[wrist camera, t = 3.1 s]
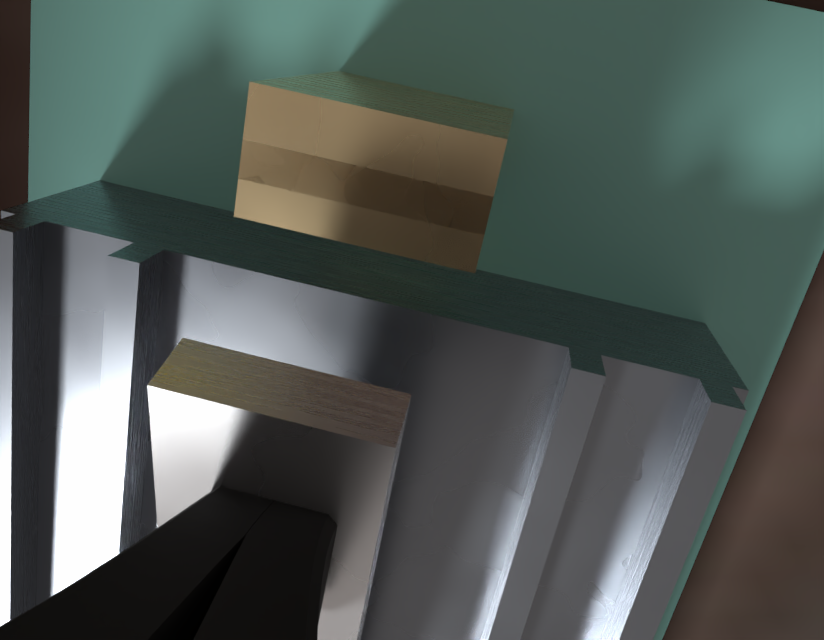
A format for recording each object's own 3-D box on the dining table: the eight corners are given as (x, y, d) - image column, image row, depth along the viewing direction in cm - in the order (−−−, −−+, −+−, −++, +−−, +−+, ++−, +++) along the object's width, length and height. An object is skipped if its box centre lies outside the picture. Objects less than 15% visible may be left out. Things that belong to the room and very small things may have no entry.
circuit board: (31, 782, 22) (18, 801, 22) (54, -143, 14) (33, -152, 13) (532, 928, 21) (532, 952, 21) (897, 31, 13) (914, 31, 12)
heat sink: (74, 691, 20) (-55, 874, 15) (107, 19, 14) (-87, 6, 9) (522, 818, 19) (521, 1048, 15) (763, 164, 13) (882, 223, 9)
